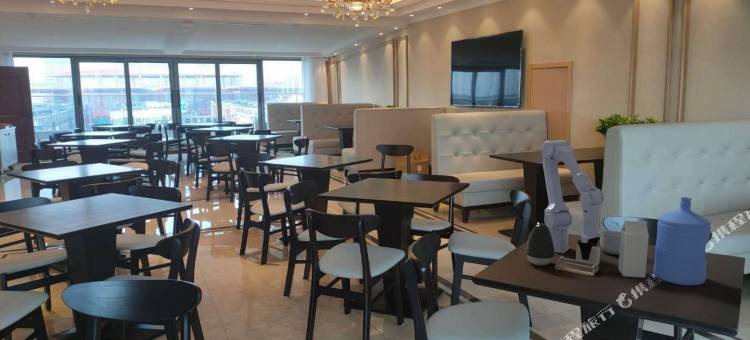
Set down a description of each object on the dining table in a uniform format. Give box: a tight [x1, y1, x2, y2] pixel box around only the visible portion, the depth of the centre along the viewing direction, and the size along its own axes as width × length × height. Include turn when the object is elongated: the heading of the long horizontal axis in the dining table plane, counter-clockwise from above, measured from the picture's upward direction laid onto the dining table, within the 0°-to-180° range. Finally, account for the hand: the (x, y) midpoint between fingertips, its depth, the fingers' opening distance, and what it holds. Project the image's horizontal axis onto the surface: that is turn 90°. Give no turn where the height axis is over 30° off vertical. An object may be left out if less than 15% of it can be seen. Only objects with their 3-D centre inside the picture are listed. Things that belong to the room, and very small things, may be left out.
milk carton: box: [617, 220, 650, 279], centre depth 186 cm, size 7×7×19 cm
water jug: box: [652, 196, 712, 286], centre depth 181 cm, size 16×16×28 cm
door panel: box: [575, 244, 602, 265], centre depth 200 cm, size 2×8×6 cm, turn 54°
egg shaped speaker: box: [525, 222, 556, 267], centre depth 197 cm, size 10×10×15 cm
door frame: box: [554, 256, 600, 277], centre depth 192 cm, size 9×13×3 cm
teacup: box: [599, 230, 621, 256], centre depth 210 cm, size 14×11×8 cm
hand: (588, 257), depth 200 cm, fingers open, 7 cm apart
